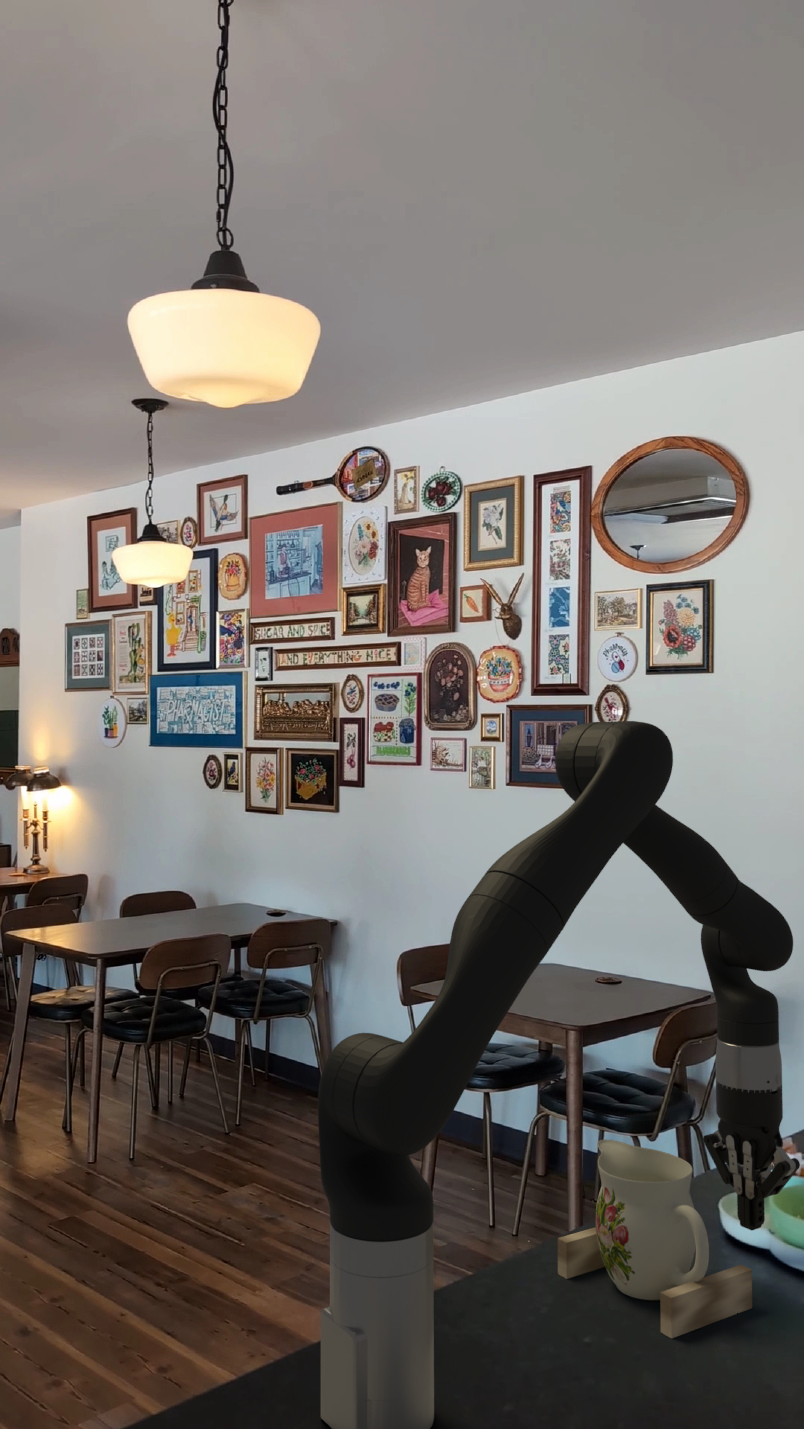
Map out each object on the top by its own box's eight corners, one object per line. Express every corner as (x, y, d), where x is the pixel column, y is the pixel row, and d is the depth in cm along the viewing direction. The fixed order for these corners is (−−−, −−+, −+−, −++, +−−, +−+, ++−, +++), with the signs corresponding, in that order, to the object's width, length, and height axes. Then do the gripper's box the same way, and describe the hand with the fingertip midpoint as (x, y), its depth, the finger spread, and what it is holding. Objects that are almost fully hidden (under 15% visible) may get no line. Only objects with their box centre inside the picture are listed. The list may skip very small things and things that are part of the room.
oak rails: (671, 1338, 117) (671, 1298, 117) (557, 1274, 132) (557, 1238, 132) (752, 1307, 124) (751, 1269, 124) (635, 1249, 138) (634, 1215, 138)
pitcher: (664, 1336, 117) (662, 1198, 118) (564, 1268, 133) (562, 1146, 134) (748, 1314, 122) (745, 1180, 123) (641, 1250, 138) (640, 1133, 139)
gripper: (684, 1070, 141) (686, 1215, 140) (772, 1097, 130) (775, 1255, 129) (727, 1061, 145) (729, 1202, 144) (816, 1086, 134) (819, 1239, 133)
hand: (751, 1226), depth 137 cm, fingers closed
